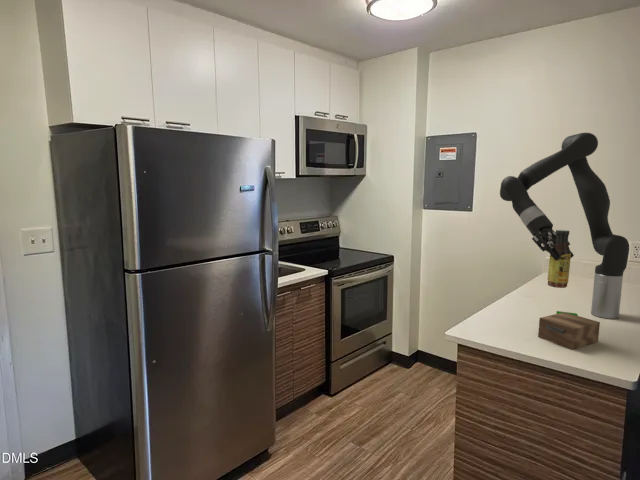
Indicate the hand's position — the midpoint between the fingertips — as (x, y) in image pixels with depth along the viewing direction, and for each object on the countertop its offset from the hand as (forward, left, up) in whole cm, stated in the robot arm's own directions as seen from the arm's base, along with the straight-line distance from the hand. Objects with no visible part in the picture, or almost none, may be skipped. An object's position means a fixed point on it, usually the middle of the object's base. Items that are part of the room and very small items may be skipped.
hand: (565, 258), depth 137 cm
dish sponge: (-17, -7, -29) cm, 34 cm away
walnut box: (+1, +4, -28) cm, 28 cm away
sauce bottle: (0, -2, -11) cm, 11 cm away
